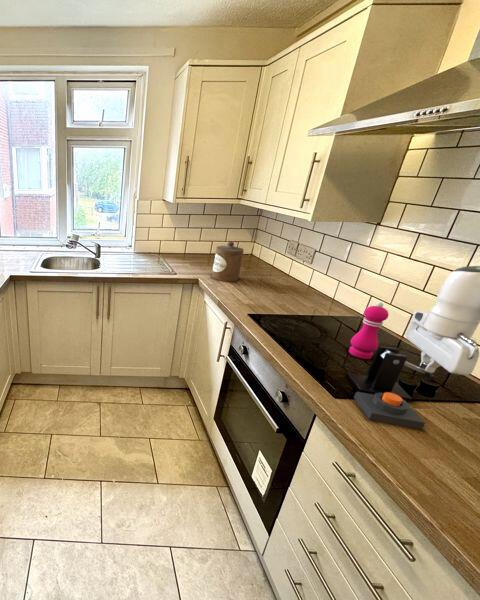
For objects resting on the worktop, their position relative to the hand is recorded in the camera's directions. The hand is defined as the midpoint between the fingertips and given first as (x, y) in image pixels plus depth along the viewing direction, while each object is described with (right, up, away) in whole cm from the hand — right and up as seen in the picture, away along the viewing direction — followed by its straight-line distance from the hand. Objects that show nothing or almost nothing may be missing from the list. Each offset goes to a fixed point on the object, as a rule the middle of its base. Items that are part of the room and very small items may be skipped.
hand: (426, 369), depth 88 cm
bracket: (-8, -7, +6) cm, 12 cm away
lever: (-5, 0, +2) cm, 5 cm away
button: (-15, -7, -5) cm, 18 cm away
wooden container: (-9, +33, +103) cm, 108 cm away
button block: (-15, -11, -4) cm, 19 cm away
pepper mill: (+2, 0, +23) cm, 23 cm away
